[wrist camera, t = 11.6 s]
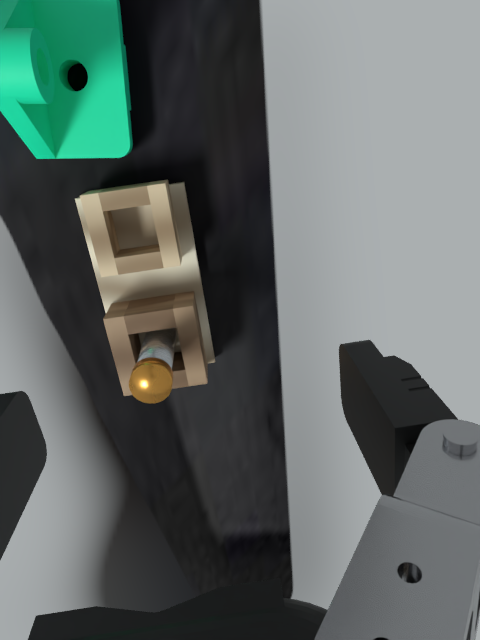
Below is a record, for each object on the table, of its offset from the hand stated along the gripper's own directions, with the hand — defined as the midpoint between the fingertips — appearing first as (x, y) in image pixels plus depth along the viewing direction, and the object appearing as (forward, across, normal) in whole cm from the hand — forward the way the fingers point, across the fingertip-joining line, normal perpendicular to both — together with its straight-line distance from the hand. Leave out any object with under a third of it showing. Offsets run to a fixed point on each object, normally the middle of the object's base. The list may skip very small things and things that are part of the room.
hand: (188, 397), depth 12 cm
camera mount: (+33, +8, -11) cm, 36 cm away
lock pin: (+32, +6, +12) cm, 35 cm away
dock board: (+33, +6, +7) cm, 34 cm away
